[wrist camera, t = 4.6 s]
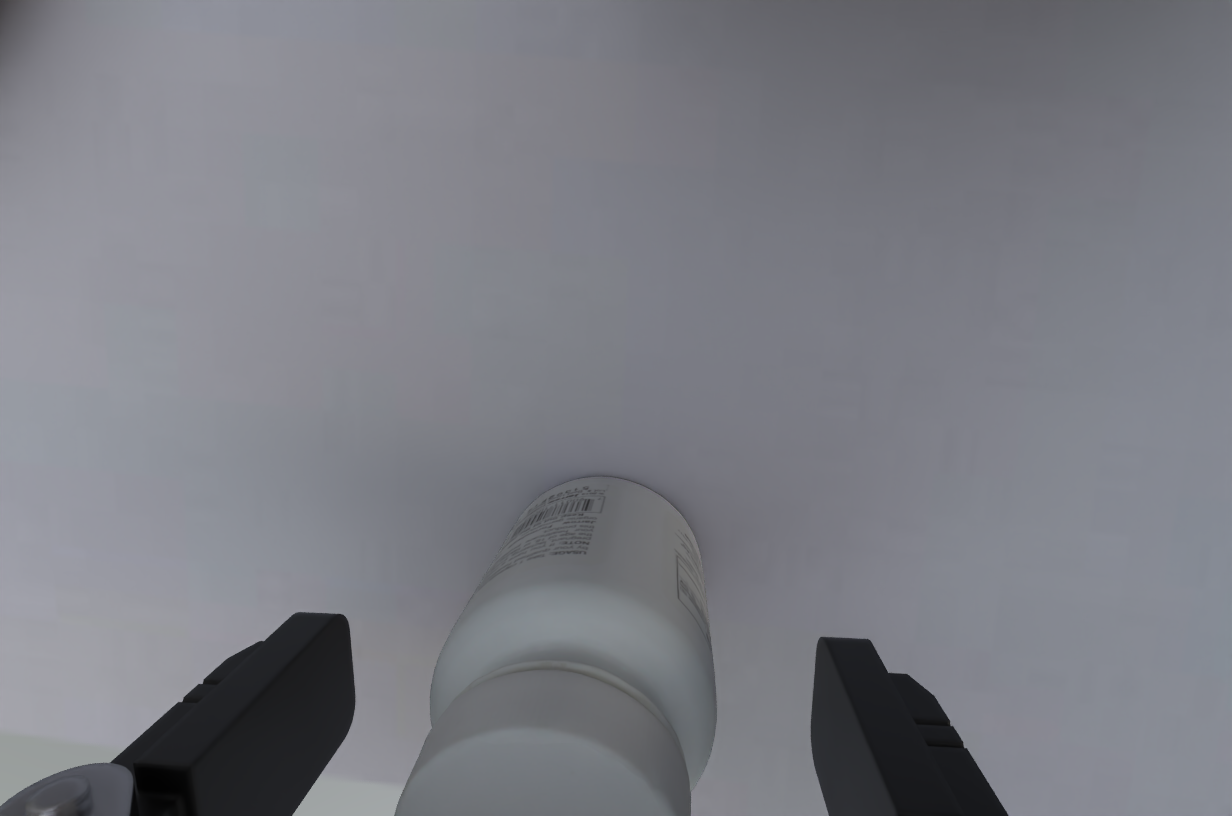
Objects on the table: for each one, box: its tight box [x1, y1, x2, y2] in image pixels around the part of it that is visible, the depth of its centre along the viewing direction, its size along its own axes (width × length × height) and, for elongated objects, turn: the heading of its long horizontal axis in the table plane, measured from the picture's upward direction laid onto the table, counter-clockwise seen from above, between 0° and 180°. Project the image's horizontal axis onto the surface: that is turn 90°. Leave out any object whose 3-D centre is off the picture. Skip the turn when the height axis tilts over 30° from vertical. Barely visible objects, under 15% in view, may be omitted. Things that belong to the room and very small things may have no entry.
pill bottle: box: [394, 476, 717, 816], centre depth 11 cm, size 4×4×8 cm
